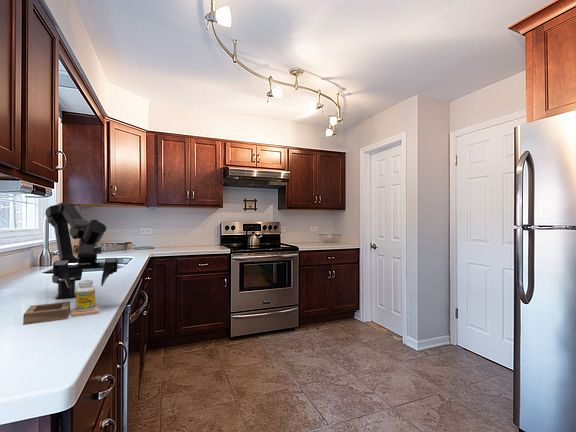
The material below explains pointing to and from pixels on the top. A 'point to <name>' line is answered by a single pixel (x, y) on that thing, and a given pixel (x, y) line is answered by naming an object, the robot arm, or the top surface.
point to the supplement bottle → (85, 296)
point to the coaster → (85, 312)
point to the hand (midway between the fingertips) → (86, 286)
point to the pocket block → (46, 312)
